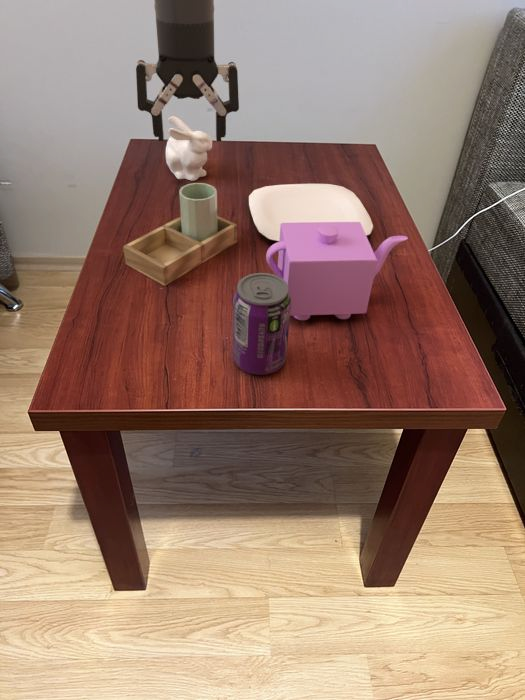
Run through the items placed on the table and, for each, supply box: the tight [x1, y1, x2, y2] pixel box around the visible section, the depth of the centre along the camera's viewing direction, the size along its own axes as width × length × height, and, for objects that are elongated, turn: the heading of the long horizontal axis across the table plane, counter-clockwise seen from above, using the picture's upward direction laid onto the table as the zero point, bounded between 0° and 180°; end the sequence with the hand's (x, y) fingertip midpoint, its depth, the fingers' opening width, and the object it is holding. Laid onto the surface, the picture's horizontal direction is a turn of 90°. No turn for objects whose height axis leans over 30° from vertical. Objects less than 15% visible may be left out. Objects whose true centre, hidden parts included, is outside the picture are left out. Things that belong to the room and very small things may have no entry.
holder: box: [122, 215, 238, 287], centre depth 90 cm, size 17×9×3 cm, turn 142°
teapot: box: [265, 222, 409, 321], centre depth 79 cm, size 20×10×12 cm, turn 95°
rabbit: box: [165, 115, 213, 182], centre depth 109 cm, size 12×9×12 cm
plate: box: [248, 183, 374, 243], centre depth 101 cm, size 22×22×2 cm
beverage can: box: [232, 272, 291, 375], centre depth 69 cm, size 7×7×12 cm
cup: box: [178, 182, 218, 242], centre depth 90 cm, size 6×6×9 cm
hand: (190, 139), depth 81 cm, fingers open, 8 cm apart
